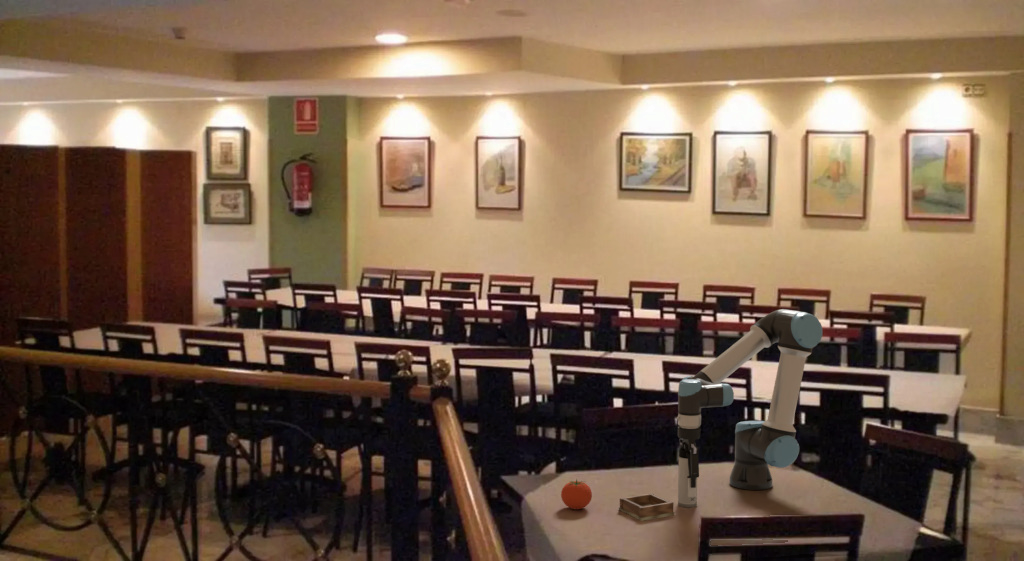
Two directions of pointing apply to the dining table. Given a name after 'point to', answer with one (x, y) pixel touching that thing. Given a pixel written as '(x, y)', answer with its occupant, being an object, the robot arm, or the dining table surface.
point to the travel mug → (684, 482)
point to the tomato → (576, 494)
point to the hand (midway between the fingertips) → (688, 492)
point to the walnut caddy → (646, 506)
